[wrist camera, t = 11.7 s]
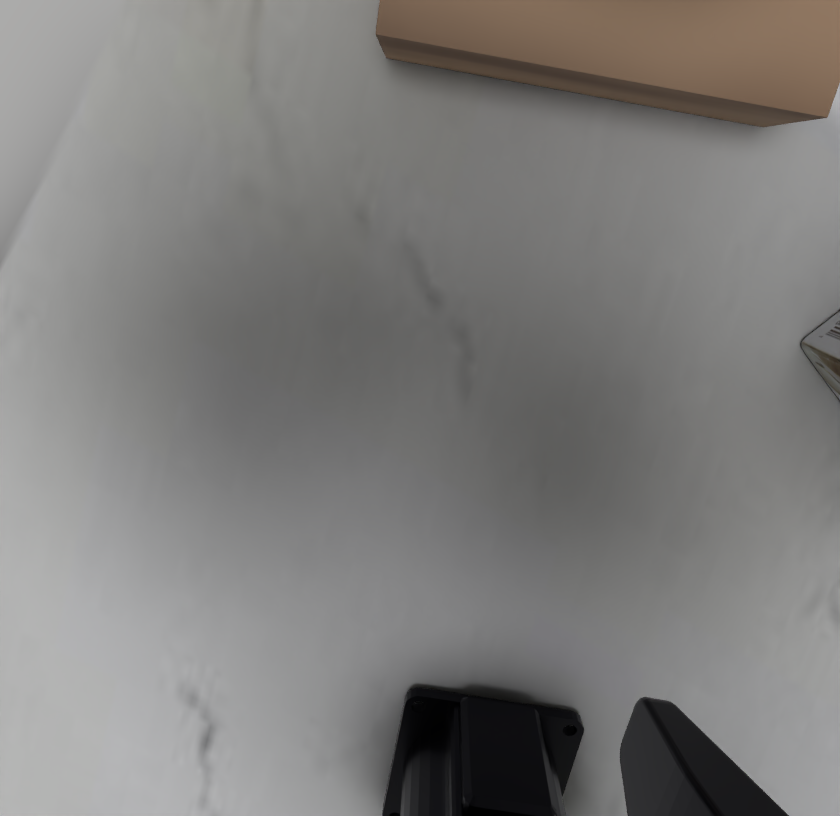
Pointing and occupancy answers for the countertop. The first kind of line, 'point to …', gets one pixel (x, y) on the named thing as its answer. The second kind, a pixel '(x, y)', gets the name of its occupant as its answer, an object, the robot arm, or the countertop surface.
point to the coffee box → (826, 351)
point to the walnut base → (637, 50)
